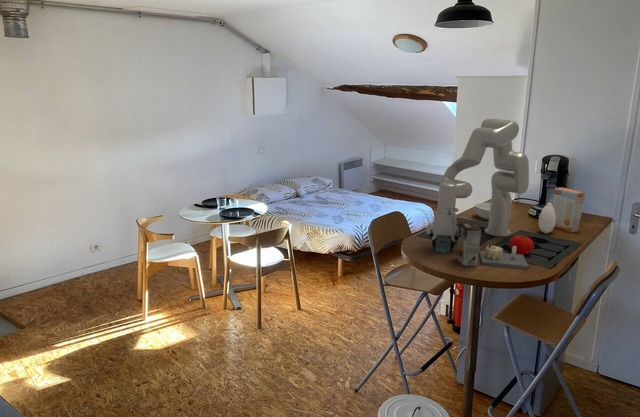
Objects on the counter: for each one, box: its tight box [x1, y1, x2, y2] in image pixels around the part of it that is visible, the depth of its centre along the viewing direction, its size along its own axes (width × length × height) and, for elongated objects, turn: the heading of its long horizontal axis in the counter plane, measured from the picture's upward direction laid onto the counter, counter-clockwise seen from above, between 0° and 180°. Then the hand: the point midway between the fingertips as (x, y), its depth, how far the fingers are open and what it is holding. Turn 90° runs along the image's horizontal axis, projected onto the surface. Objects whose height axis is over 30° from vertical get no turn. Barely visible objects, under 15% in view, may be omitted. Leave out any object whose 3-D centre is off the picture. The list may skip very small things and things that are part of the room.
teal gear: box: [433, 239, 452, 254], centre depth 224 cm, size 7×7×4 cm
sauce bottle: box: [538, 198, 556, 234], centre depth 252 cm, size 8×8×18 cm
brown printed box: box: [455, 222, 482, 267], centre depth 209 cm, size 9×6×16 cm
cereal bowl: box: [474, 202, 491, 221], centre depth 277 cm, size 17×17×7 cm
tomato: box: [509, 234, 535, 256], centre depth 222 cm, size 9×10×8 cm
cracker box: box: [552, 186, 585, 233], centre depth 259 cm, size 14×6×21 cm, turn 22°
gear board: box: [479, 243, 529, 270], centre depth 212 cm, size 14×18×7 cm
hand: (442, 248), depth 224 cm, fingers closed on teal gear, 7 cm apart
